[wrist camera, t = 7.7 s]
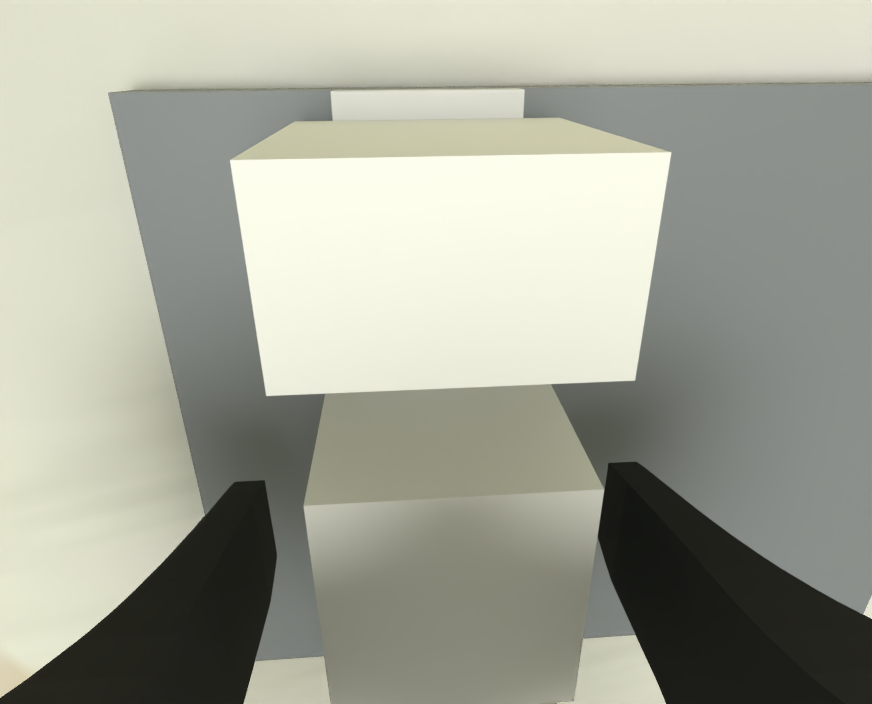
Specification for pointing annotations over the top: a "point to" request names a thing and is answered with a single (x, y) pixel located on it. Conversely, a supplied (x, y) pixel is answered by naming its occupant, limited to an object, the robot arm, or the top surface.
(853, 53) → the top surface
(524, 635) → the block
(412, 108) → the rail panel
